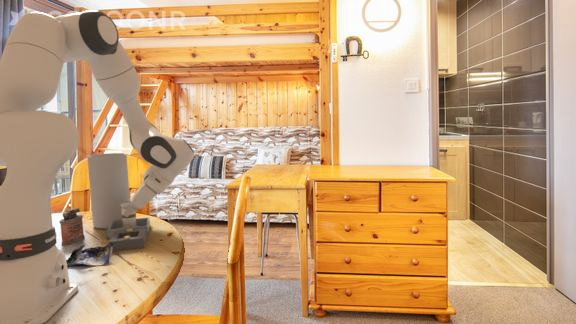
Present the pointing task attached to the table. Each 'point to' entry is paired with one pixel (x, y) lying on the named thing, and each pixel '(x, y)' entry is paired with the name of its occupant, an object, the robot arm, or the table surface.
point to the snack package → (90, 255)
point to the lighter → (71, 227)
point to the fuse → (129, 220)
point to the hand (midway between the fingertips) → (126, 212)
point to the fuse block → (128, 239)
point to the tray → (118, 224)
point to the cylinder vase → (108, 187)
